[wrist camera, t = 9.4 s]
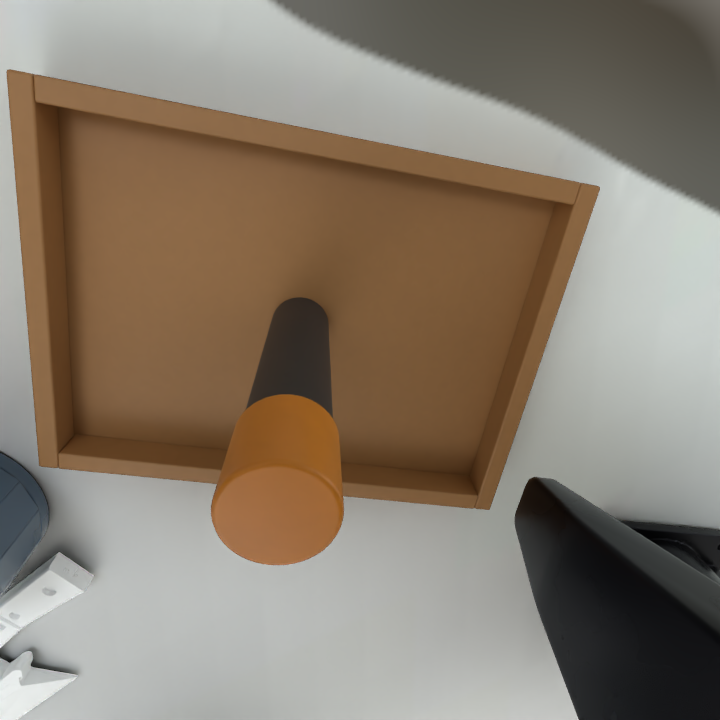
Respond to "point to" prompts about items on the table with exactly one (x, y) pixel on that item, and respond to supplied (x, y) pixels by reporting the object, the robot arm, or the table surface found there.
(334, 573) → the table surface
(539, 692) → the table surface
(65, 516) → the table surface
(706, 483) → the table surface
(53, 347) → the brown flat rectangular frame
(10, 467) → the pen cup
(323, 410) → the cylinder
